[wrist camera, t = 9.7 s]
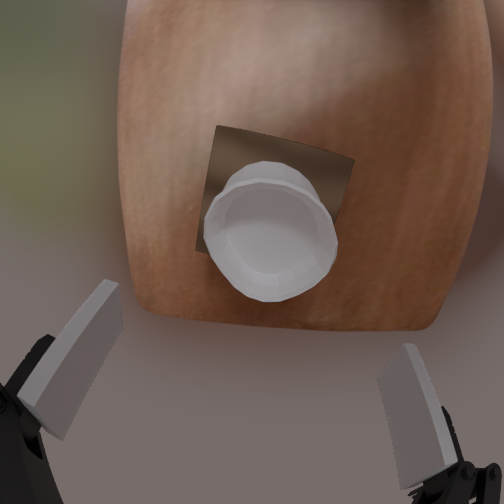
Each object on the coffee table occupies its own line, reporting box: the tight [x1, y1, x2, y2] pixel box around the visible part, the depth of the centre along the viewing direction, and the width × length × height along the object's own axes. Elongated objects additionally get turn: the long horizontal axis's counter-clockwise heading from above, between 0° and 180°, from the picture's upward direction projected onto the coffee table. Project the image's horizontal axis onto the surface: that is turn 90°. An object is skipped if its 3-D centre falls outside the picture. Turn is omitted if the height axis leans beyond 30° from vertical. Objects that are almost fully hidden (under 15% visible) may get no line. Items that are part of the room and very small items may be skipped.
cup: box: [203, 161, 338, 302], centre depth 24 cm, size 10×10×10 cm
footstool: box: [195, 125, 355, 254], centre depth 31 cm, size 14×14×8 cm
